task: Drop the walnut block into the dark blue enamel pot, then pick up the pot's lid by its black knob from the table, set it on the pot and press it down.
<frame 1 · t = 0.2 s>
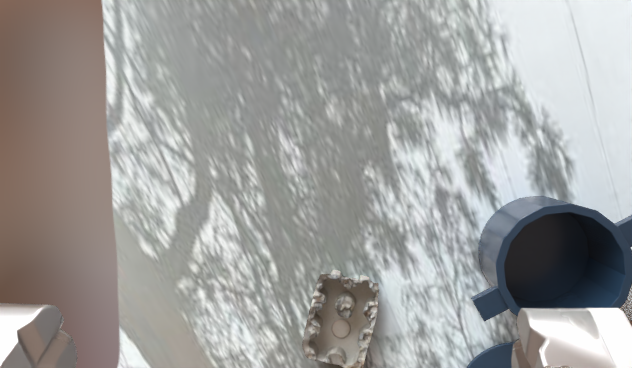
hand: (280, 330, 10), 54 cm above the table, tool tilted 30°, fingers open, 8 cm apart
pot: (535, 251, 62), on the table
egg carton: (341, 313, 65), on the table
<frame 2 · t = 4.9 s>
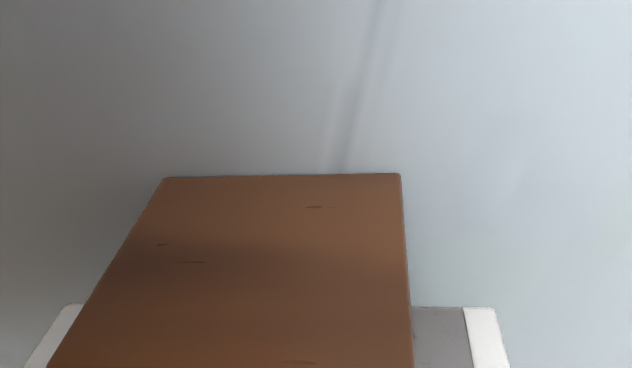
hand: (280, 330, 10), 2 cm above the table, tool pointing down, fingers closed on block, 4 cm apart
block: (291, 266, 11), on the table, touching gripper
when the fingers open (9 cm above the table, at t = 10.2 s): block drops 7 cm, resting on pot.
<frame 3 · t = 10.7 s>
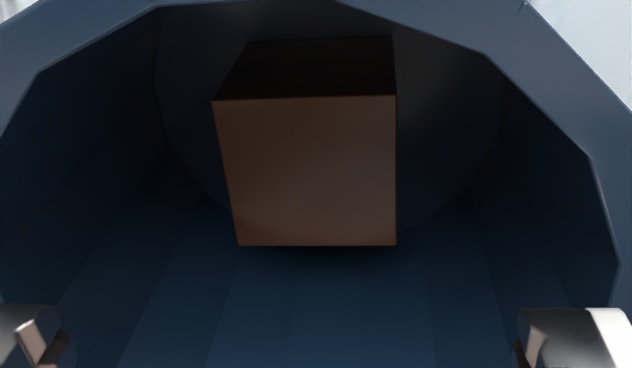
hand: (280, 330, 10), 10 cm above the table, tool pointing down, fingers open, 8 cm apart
pot: (326, 101, 18), on the table
block: (323, 106, 17), resting on pot
when the fingers open (11 cm above the table, at t = 20.7 s): lid stays where it is, resting on pot.
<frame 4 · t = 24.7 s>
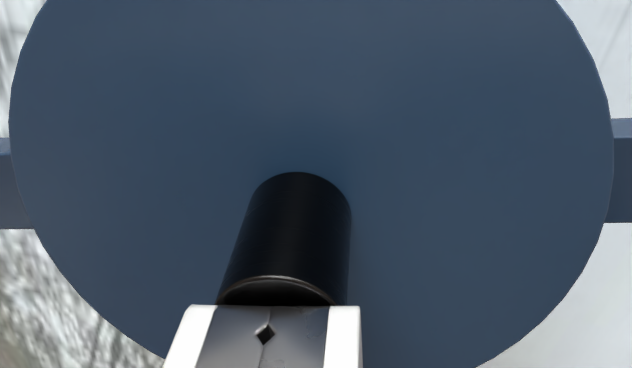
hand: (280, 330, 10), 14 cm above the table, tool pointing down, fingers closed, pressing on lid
lid: (302, 202, 13), point 9 cm above the table, touching gripper, pot
pot: (330, 66, 21), on the table
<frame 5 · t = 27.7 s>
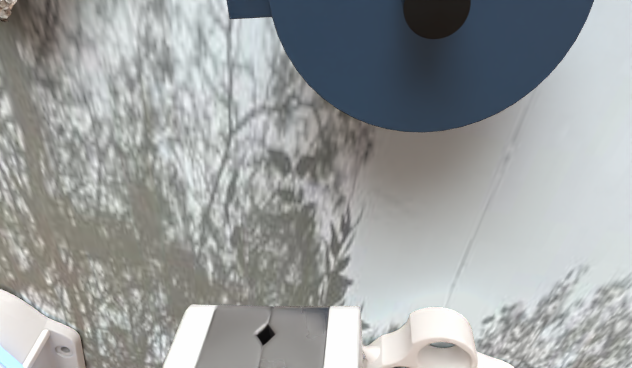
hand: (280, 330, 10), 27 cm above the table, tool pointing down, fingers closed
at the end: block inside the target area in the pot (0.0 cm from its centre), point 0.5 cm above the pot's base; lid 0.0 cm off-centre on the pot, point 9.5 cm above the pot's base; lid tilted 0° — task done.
